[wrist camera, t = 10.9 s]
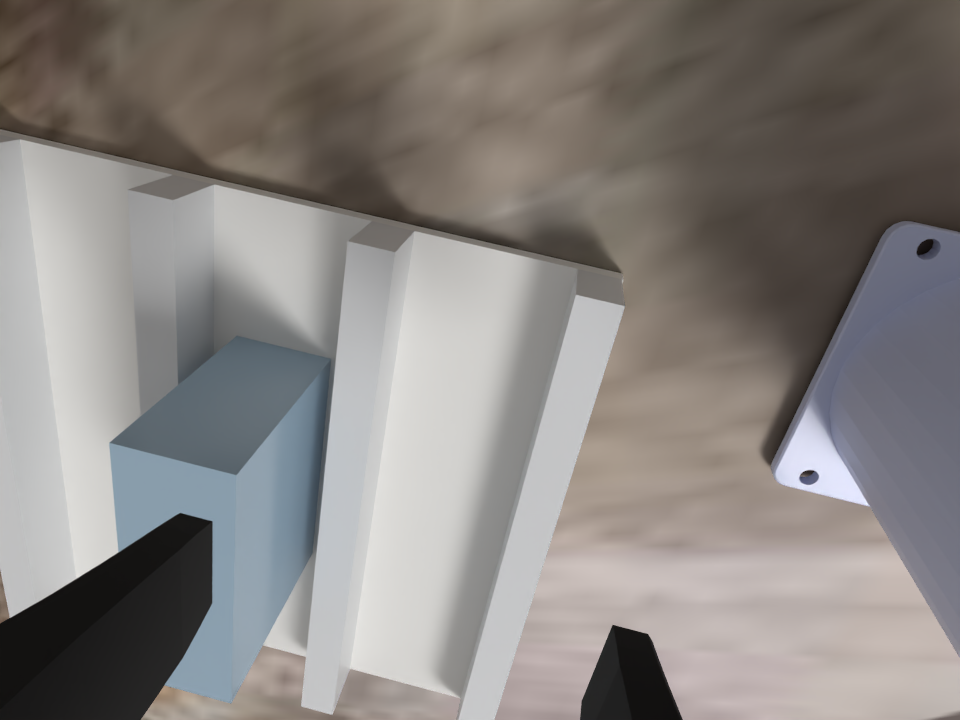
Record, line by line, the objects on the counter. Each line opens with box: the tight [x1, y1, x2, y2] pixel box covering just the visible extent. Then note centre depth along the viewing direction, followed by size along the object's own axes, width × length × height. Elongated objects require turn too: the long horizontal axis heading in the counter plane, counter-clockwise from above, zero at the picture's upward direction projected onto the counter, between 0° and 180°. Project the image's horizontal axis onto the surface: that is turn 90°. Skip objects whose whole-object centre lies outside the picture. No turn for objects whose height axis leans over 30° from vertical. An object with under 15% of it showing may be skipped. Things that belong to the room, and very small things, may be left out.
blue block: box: [109, 336, 331, 703], centre depth 19 cm, size 3×8×6 cm, turn 169°
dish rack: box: [0, 129, 625, 720], centre depth 21 cm, size 18×18×2 cm
